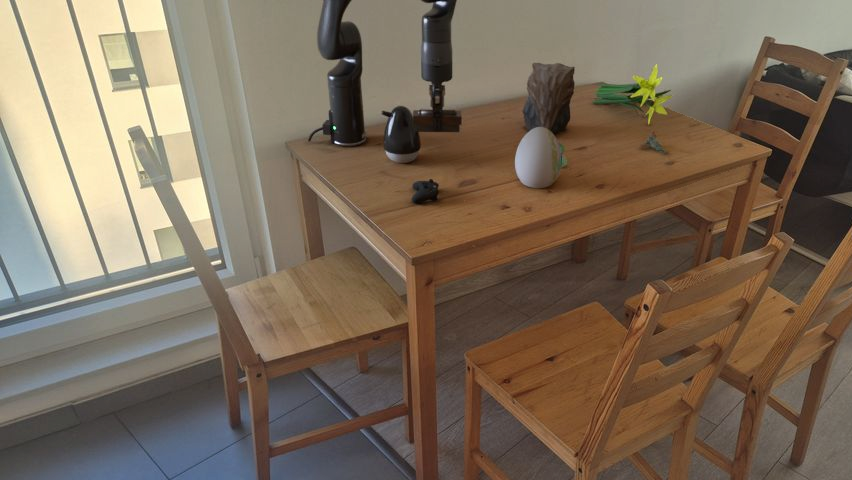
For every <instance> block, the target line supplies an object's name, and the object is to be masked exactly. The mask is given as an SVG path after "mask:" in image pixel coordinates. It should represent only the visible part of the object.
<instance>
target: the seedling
mask: <svg viewBox="0 0 852 480" xmlns="http://www.w3.org/2000/svg"><path fill="white" fill-rule="evenodd" d="M559 145H560V148H561V153H562V167H561V168H564V167H566V166H567V165H568V159H567V158H566V157H565V156H564V154H565V152H566V149H565V146H564V144H563V143H561V142H559Z"/></svg>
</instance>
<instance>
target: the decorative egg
mask: <svg viewBox="0 0 852 480" xmlns="http://www.w3.org/2000/svg"><path fill="white" fill-rule="evenodd" d="M559 143H560V142H559V140H558V139H557V137H556V135H555V136H554V134H553V133H552V132H551V131H550V130H548V129H547V128H544V127H536V128H534V129H532V130H528V132H527V133H526V134H525V135H524V136H523V138H522V139H521V140H520V142H519V144H518V146H517V149H516V152H515V156H514V157H515V158H514V168H515V172H516V176H517V177H518V179H519V181H520V182H521V183H522V184H523V185H524V186H526V187H529V188H531V189H545V188H548V187H551V186H552V185H553V184H554V183H555V182H556V181H557V180H558V178H559V177H560V173H561V171H562V168H563V167H562V156H563V154H562V153H561V148H560V145H559Z"/></svg>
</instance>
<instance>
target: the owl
mask: <svg viewBox="0 0 852 480" xmlns="http://www.w3.org/2000/svg"><path fill="white" fill-rule="evenodd" d="M531 68H532V71H531V72H530V75H529V76H528V78H527V82H526V90H527V93H528V97H527V99H526V100H525V103H524V105H523V108H522V115H523V119H524V120H523V121H524V125H525V127H524V128H525V129H526V130H527V131H530V130H532V129H534V128H536V127H544V128H547V129H548V130H550V131H551V132H552V133H553V134H554V136H555V137H556V135H560V134H561V133H565V132H566V130H567V127H568V124H569V123H570V121H571V105H570V104H571V100H572V97H573V95H574V94H575V83H576V82H575V80H574V75H575V69H576V67H575V66H568V65H565V64H563V63H561V62H555V63H541V62H533V63H532V65H531Z"/></svg>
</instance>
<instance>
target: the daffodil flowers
mask: <svg viewBox="0 0 852 480" xmlns="http://www.w3.org/2000/svg"><path fill="white" fill-rule="evenodd" d="M658 69H659V68H658V64H657V63H656V64H655V66H654V67H653V69H652V71H651V73H650V76H649V78H648V79H646V78H643V77H641V76H637V75H632V78H633V80H634V81H635V82H634V83H625V84H613V83H612V84H611V83H597V84H596V87H598V89H597V90H598V91H595V92H594V96H595V95H596V98H597V99H595V100H594V101H592V103H593V104H594V105H604V104H605V105H606V104H613V105H619V106H623V107H626V108H630V109H632V110H634V112H635V113H636V115H637V116H639V113H638V111H640V112H641V113H644V110H642V106H645V107H648V106H649V109H648V110H647V112H646V114H645V115H644V117H646V115H648V116H647V117H648V121H647V125H648V126H649V125H650V123H651V119H652V117H653V115H654V112H656V113H657V114H658V115H665V116H668V113H667V111H666V108H665V107H664V106H662V105H661V104H663V103H664V102H666V101H668V100H669V99H670V98H672V97H673V96H674V94H669V95H665V94H667V93H669V92H671V91H672V89H668V90H666V89H664V90H663V91H661V92H656V88H657V86H659V84H660V83H661V82H662V79H663V76H660V77H658V78H657V76H658V72H659V71H658ZM627 94H630V95H627ZM664 95H665V96H664ZM637 104H640V106H639V105H637ZM637 110H638V111H637Z"/></svg>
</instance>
